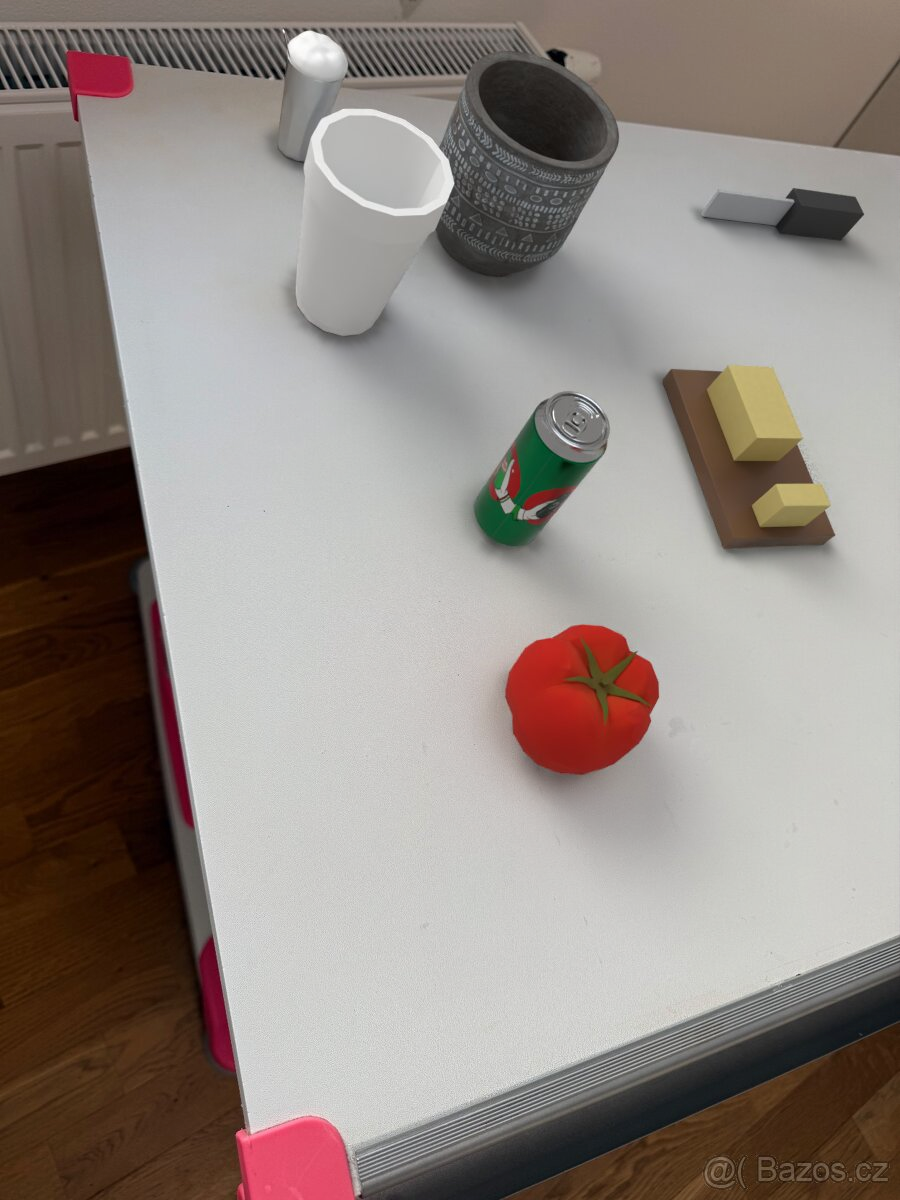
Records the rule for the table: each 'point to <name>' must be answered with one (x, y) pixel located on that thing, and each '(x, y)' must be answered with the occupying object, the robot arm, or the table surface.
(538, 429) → the soda can
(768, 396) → the butter stick
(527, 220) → the planter
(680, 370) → the board
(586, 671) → the tomato
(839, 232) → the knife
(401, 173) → the foam cup
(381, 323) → the table surface
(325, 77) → the milkshake
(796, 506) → the butter pat
